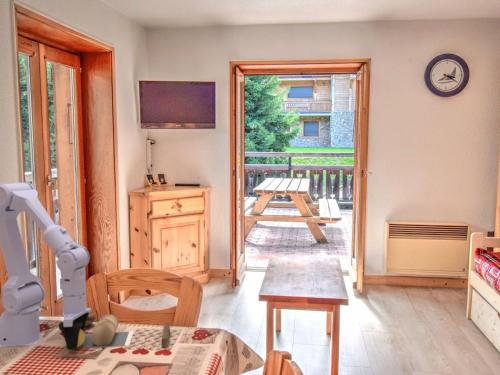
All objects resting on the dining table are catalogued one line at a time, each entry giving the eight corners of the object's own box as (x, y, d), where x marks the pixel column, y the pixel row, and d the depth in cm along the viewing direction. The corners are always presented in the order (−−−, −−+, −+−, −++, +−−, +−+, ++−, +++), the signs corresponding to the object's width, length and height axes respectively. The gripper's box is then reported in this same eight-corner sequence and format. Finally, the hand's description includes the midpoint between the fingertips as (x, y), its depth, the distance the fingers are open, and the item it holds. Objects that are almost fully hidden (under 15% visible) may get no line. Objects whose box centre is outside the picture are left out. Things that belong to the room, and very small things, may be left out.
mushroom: (86, 325, 128) (83, 305, 131) (61, 336, 129) (58, 315, 132) (100, 329, 135) (97, 309, 138) (76, 339, 136) (74, 319, 139)
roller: (91, 346, 121) (91, 326, 120) (98, 333, 129) (97, 314, 129) (113, 345, 121) (112, 325, 121) (118, 332, 130) (118, 313, 130)
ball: (63, 351, 118) (62, 332, 117) (68, 343, 123) (67, 325, 122) (83, 350, 118) (82, 331, 118) (87, 342, 123) (87, 324, 123)
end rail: (161, 347, 122) (161, 339, 121) (164, 330, 133) (164, 322, 133) (167, 347, 122) (167, 338, 122) (169, 330, 134) (169, 322, 133)
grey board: (66, 351, 119) (66, 348, 119) (76, 336, 129) (76, 333, 129) (129, 347, 121) (129, 345, 121) (133, 333, 131) (133, 331, 131)
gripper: (83, 301, 113) (84, 354, 114) (95, 284, 127) (96, 332, 128) (54, 302, 112) (55, 355, 113) (69, 285, 126) (70, 333, 127)
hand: (75, 343), depth 120 cm, fingers open, 6 cm apart
